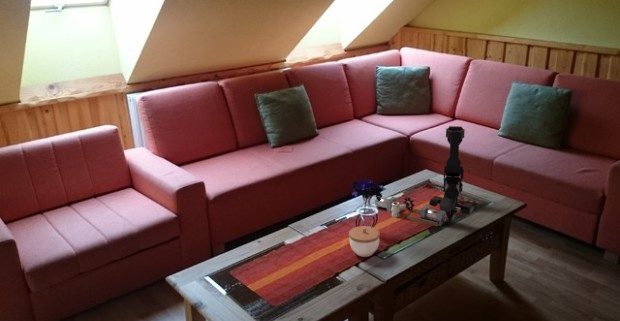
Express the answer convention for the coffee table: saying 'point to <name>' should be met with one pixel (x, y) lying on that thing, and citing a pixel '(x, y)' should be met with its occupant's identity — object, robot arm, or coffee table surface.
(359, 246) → the lidded bowl
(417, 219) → the cradle rails
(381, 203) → the pipe stub
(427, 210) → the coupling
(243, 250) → the coffee table surface
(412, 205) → the valve
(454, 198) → the robot arm
